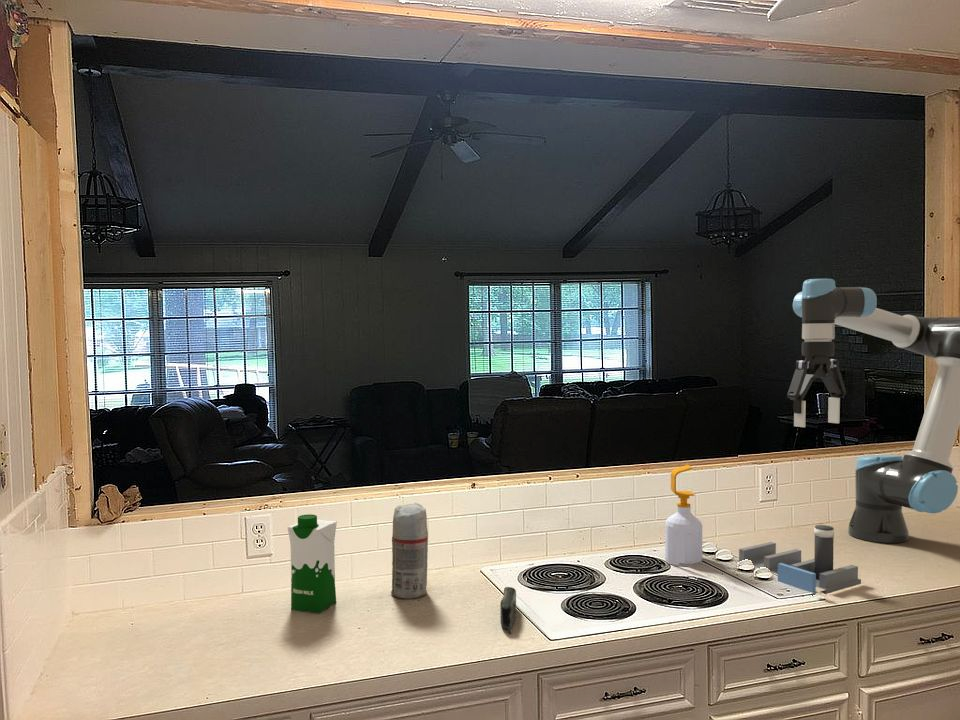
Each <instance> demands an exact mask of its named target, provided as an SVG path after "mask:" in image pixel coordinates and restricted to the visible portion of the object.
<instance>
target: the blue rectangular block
mask: <svg viewBox="0 0 960 720" xmlns="http://www.w3.org/2000/svg"><path fill="white" fill-rule="evenodd" d="M777 582H780V583H782V584H785V585H788V586H792V587H794V588H796V589H800V590H803V591H806V592H809V593H811V594H809V595H812V596H813V595H816V592H817V589H816V588H817V587H816V573H812V572H809V571H806V570H803V569H799V568H796V567H793V566H790V565H786V564H783V563H779V564H778V574H777ZM813 597H814V596H813Z"/></svg>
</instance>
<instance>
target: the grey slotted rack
mask: <svg viewBox="0 0 960 720" xmlns="http://www.w3.org/2000/svg"><path fill="white" fill-rule="evenodd" d="M776 549H777V543H776V542H773V541H769V542H765V543H764V542H763V543H760V544H755V545H751V546H747V547H742V548H739V549H738V560H737V559H736V562H738V563H741V562H740V561H742V560H745V559H748V560H751V561H752V563H753V565H754V568H757V569H760V567H766V568H768V569H769V570H770V573H773V574H776V575H778V564H779V563H783V564H786V565H790V566H793V567H796V568H799V569H803V570H806V571H809V572H812V573H814V558H813V559H808V560H804V561H802V550H801V549H797V548H795V549H790V550H785V551H781V552H777V550H776ZM776 552H777V553H776ZM858 572H859V566H858V565H854V564H849V565H845V566H843V567H839V568H835V569H834V568H833V570H831V571H827V572H823V573H820V574H819V580H817V579H816V588H818V589H822V590H820V591H819V593H822V594H824V595H827V594H831V593H835V592H837V591H841V590H844V589H847V588H851V587H855V586H858V585H861V584H862V579H860V578H859V573H858Z"/></svg>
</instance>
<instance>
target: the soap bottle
mask: <svg viewBox="0 0 960 720" xmlns="http://www.w3.org/2000/svg"><path fill="white" fill-rule="evenodd" d="M692 469H693V468H692V466H690V464H686V465H685V464H684V465H682V466H679V467H675V468H674V469H672V470H671V472H670V491H672V492H673V493H674V494H675V495H676V496H678V499H680V502H677V504H676V512H675V513H673V514H671V515H670V516H669V517H668V518H666V519H665V526H664V528H665V529H664V530H665V531H664V532H665V536H664V537H665V538H664V543H665V544H664V545H665V547H664V551H665V554H664V555H665V557H664V558H665V562H667V563H668V564H670V565H671V566H676V567H682V568H688V567H689V566H687V565H688V564H689V565H690V564H691V565H692V564H697V563H701V562H702V561H703V525H702V522H701V520H700V518H698V517H697V516H696V515H694V514H692V512H691V507H692V506H691V503H689V502H688V499H690V497H694V496H695V493H694V492H693V491H692V490H691V491H690V490H677V476H678V475H679V474H681V473H684V472H687V471H690V470H692ZM686 564H687V565H686Z"/></svg>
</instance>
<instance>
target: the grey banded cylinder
mask: <svg viewBox="0 0 960 720" xmlns="http://www.w3.org/2000/svg"><path fill="white" fill-rule="evenodd" d="M813 531H814V533H813V535H814V556H813V557H814V558H813V559H814V573H816V579H817V580H819V574H820V573H823V572H827V571H831V570H834V543H835V542H834V537H835V528H834V527H833V526H830V525H824V524H817V525H814V528H813Z"/></svg>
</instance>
